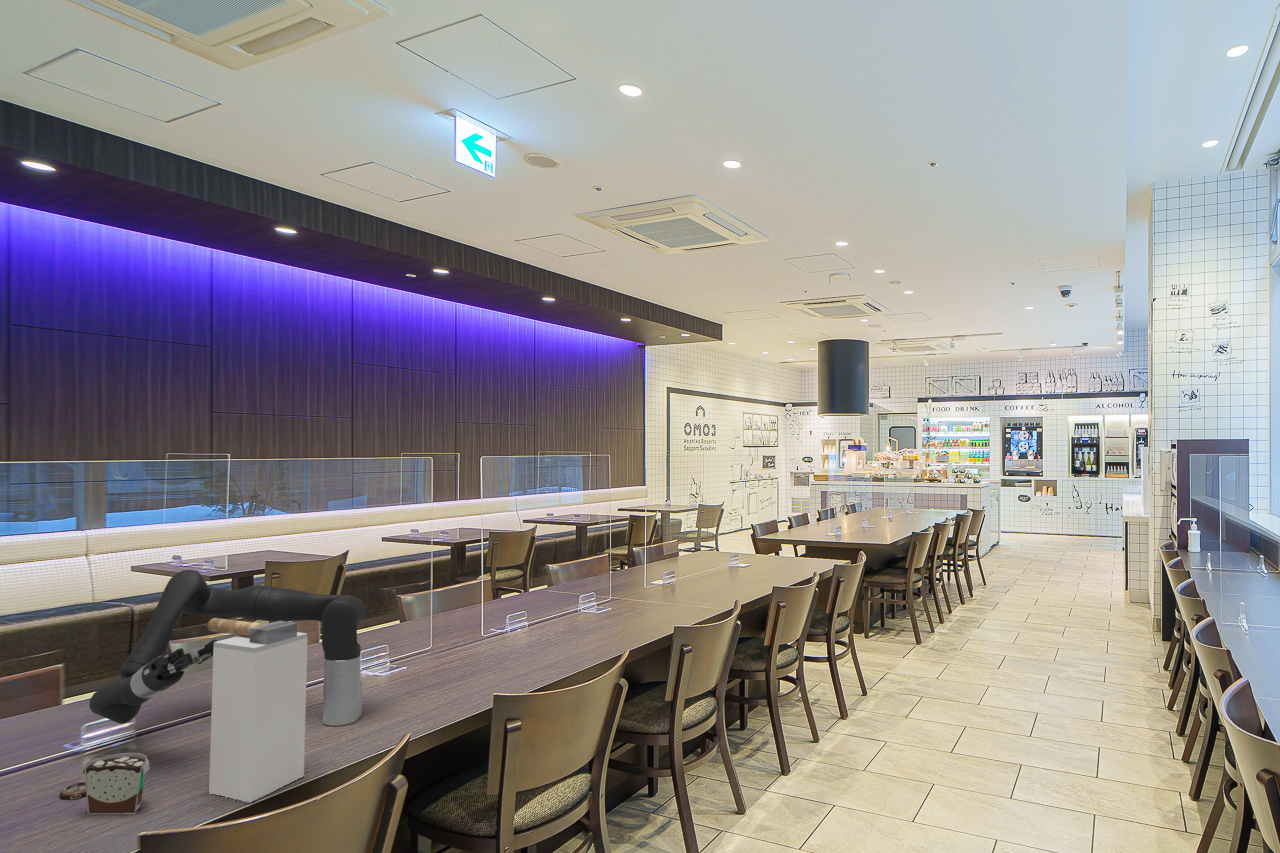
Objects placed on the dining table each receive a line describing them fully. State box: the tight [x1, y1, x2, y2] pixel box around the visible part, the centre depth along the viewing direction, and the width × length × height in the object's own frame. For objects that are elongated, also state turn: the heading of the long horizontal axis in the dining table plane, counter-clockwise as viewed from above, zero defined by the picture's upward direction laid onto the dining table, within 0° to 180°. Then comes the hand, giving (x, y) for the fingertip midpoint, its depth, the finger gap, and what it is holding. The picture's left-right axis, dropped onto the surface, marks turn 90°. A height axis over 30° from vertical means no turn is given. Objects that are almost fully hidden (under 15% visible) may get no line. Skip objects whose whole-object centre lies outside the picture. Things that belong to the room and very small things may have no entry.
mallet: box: [207, 617, 298, 645], centre depth 165 cm, size 21×8×3 cm, turn 68°
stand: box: [208, 631, 309, 802], centre depth 163 cm, size 14×12×32 cm
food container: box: [81, 752, 150, 815], centre depth 152 cm, size 12×6×10 cm, turn 92°
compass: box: [58, 754, 108, 800], centre depth 158 cm, size 8×8×7 cm
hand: (200, 647), depth 170 cm, fingers open, 8 cm apart
